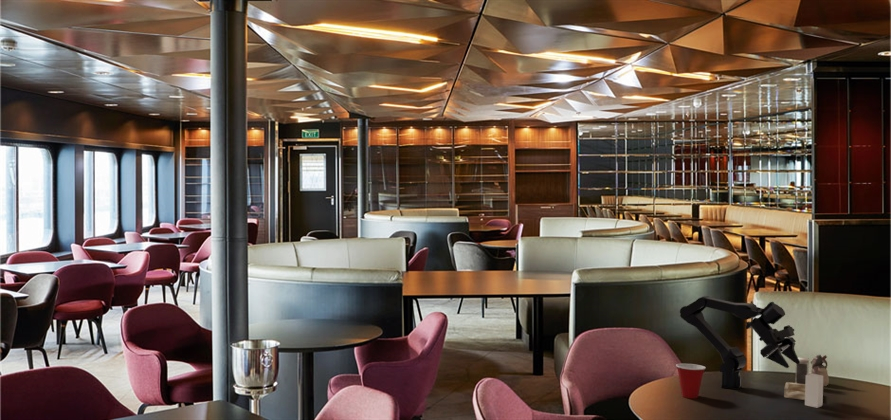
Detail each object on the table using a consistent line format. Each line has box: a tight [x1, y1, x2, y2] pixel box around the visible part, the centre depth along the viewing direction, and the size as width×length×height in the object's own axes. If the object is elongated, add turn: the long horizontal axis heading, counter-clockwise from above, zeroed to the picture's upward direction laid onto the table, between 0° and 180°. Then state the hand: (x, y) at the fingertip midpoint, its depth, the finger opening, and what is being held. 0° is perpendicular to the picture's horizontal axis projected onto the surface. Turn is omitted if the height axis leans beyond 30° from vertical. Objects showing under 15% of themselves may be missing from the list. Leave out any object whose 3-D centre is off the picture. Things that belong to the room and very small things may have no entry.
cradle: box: [783, 356, 810, 401], centre depth 296 cm, size 10×22×11 cm, turn 153°
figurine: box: [810, 353, 830, 387], centre depth 308 cm, size 7×7×12 cm
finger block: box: [804, 372, 824, 409], centre depth 279 cm, size 4×5×11 cm
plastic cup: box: [675, 363, 706, 399], centre depth 289 cm, size 11×11×12 cm
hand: (793, 365), depth 284 cm, fingers open, 9 cm apart
